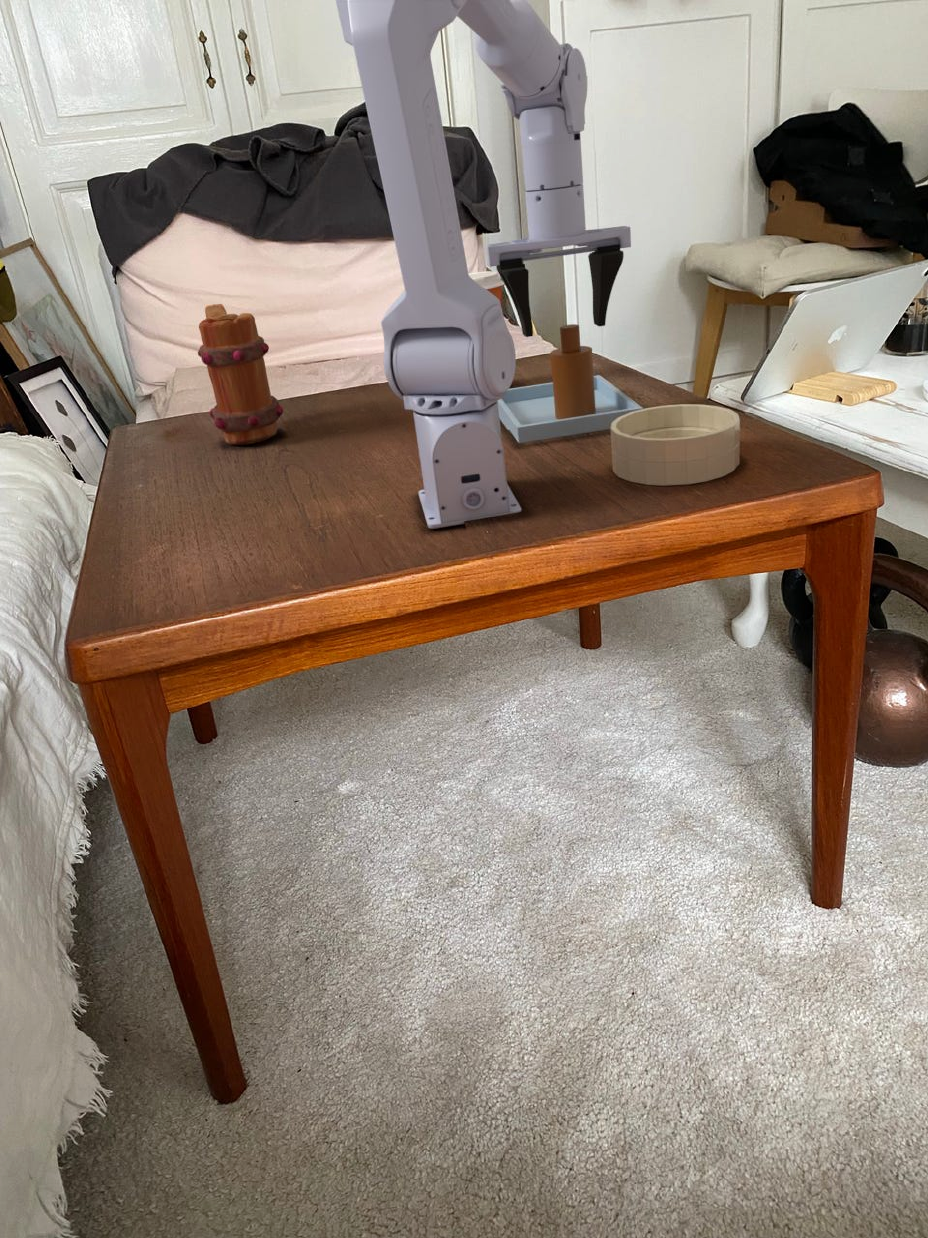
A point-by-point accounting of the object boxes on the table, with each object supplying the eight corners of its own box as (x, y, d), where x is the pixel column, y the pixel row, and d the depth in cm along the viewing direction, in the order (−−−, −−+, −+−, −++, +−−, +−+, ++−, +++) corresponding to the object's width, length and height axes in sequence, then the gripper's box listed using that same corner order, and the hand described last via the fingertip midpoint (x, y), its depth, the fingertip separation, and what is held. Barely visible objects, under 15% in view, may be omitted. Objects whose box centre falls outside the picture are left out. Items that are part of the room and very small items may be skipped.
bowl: (759, 478, 81) (760, 426, 79) (633, 498, 80) (631, 447, 78) (711, 444, 91) (711, 397, 89) (599, 462, 90) (596, 415, 88)
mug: (294, 440, 111) (266, 307, 104) (224, 455, 108) (192, 320, 102) (270, 416, 123) (244, 296, 116) (207, 429, 121) (177, 307, 114)
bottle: (600, 417, 102) (595, 326, 98) (560, 423, 101) (553, 332, 97) (590, 407, 106) (584, 320, 102) (551, 413, 105) (544, 325, 101)
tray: (644, 427, 98) (643, 407, 97) (519, 447, 97) (517, 427, 97) (600, 392, 114) (599, 374, 113) (492, 408, 113) (490, 391, 112)
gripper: (614, 177, 97) (620, 314, 103) (475, 196, 96) (489, 333, 102) (634, 178, 91) (639, 324, 97) (485, 198, 90) (500, 344, 96)
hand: (563, 329), depth 99 cm, fingers open, 7 cm apart
